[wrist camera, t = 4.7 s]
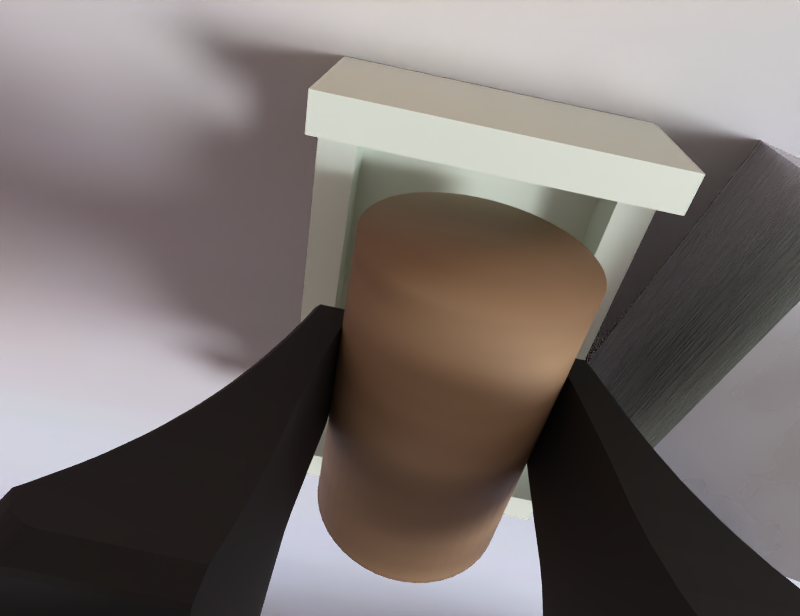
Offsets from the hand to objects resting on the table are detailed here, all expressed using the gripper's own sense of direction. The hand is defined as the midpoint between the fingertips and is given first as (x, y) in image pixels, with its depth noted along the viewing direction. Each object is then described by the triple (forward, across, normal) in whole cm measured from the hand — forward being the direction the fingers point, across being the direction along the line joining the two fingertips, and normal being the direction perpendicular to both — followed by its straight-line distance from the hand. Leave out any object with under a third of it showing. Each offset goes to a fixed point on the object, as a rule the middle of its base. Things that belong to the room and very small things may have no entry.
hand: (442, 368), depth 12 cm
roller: (+2, 0, 0) cm, 2 cm away
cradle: (+4, 0, 0) cm, 4 cm away
